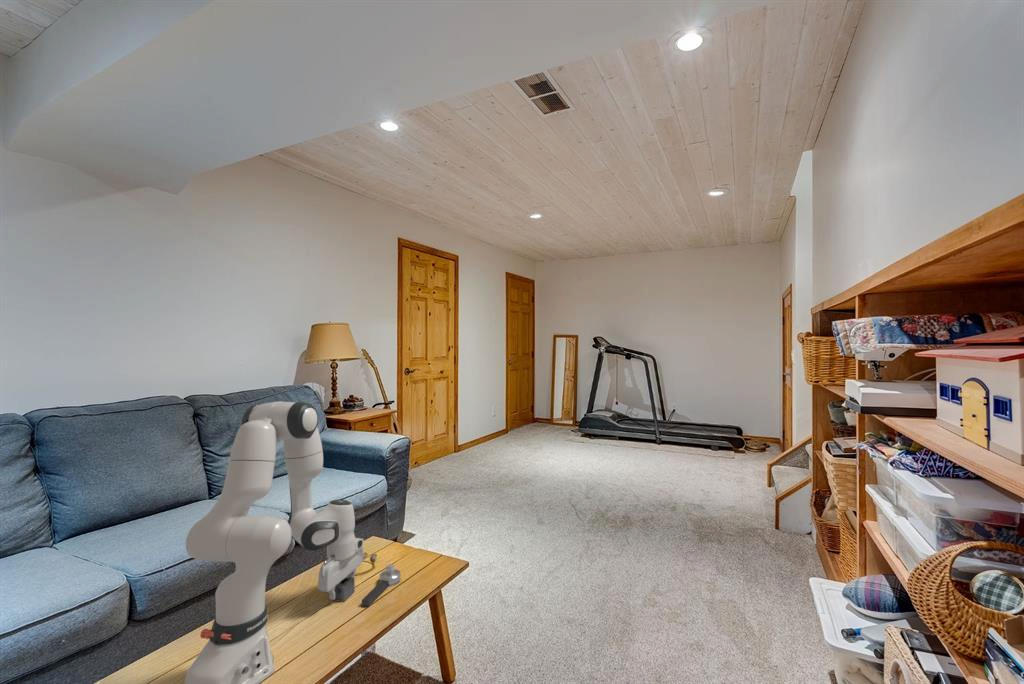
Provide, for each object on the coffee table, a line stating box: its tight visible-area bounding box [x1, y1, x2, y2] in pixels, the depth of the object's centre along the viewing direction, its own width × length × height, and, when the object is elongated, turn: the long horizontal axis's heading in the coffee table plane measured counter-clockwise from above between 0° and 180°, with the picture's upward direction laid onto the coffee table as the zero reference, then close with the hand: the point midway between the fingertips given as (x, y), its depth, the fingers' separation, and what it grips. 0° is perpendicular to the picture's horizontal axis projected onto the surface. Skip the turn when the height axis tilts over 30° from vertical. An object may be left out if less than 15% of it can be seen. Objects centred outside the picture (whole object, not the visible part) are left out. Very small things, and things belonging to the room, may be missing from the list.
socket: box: [333, 576, 355, 603], centre depth 153 cm, size 6×6×5 cm
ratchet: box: [361, 563, 401, 608], centre depth 156 cm, size 20×7×6 cm, turn 166°
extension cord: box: [354, 552, 378, 577], centre depth 174 cm, size 12×16×2 cm
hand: (342, 590), depth 153 cm, fingers open, 8 cm apart
